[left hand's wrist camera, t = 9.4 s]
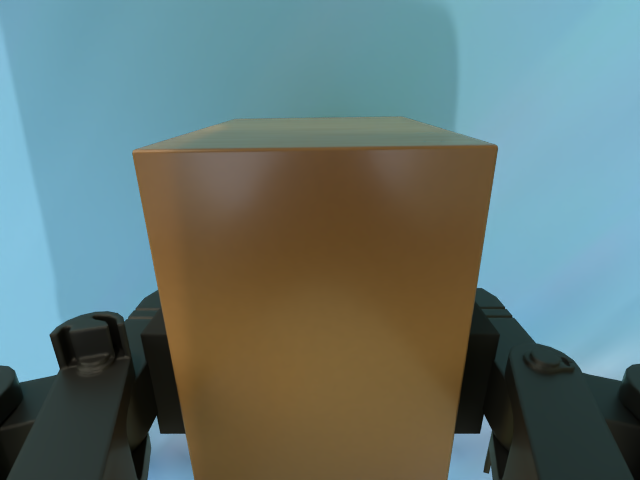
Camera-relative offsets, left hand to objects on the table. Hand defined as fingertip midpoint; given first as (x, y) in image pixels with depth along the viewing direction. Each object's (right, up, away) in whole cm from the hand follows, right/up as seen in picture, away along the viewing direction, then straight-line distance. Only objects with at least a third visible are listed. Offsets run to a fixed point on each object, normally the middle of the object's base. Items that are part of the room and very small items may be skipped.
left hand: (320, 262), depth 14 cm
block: (0, -30, +12) cm, 32 cm away
